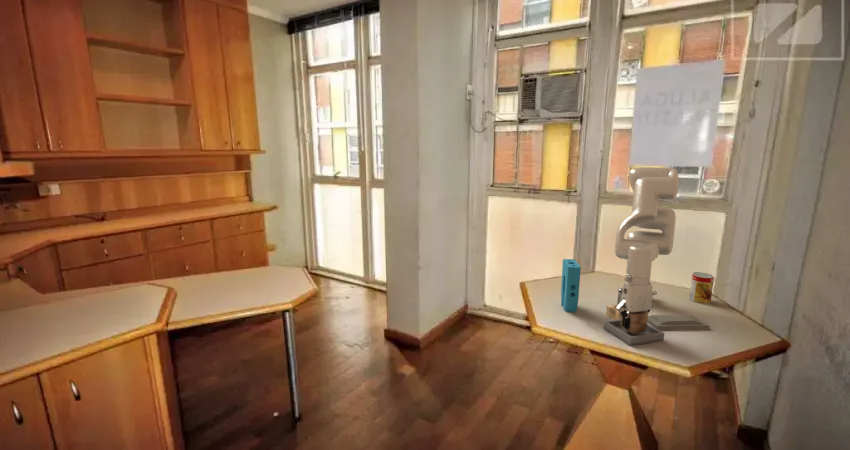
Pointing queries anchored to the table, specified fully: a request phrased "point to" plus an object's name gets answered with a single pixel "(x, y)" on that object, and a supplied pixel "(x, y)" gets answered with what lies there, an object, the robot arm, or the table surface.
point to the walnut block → (637, 322)
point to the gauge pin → (619, 296)
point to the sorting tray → (633, 338)
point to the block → (570, 285)
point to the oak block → (613, 312)
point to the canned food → (701, 287)
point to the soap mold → (676, 322)
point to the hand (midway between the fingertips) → (633, 325)
